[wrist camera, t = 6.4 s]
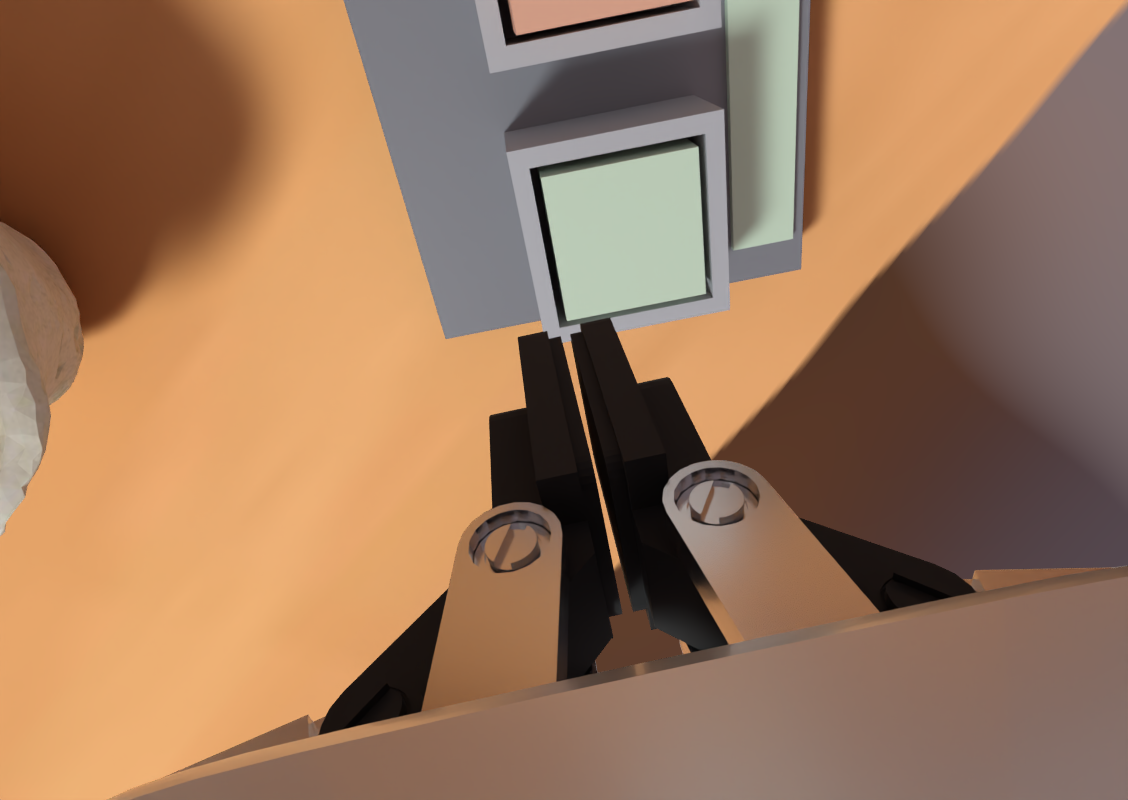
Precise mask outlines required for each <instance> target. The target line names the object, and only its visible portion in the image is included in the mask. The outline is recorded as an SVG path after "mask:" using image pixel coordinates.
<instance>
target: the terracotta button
mask: <svg viewBox="0 0 1128 800" xmlns="http://www.w3.org/2000/svg"><path fill="white" fill-rule="evenodd" d="M686 1H691V0H508V6H509V11H510V17H511V22H512V28H513V31H514V33H515V34H516V35H521V34H526V33H531V32H536V31H541V30H546V29H551V28H556V27H561V26H566V25H571V24H576V23H581V22H586V21H591V20H596V19H601V18H606V17H611V16H616V15H621V14H626V13H631V12H636V11H641V10H646V9H651V8H656V7H661V6H666V5H671V4H676V3H681V2H686Z"/></svg>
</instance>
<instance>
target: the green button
mask: <svg viewBox="0 0 1128 800" xmlns="http://www.w3.org/2000/svg"><path fill="white" fill-rule="evenodd" d="M537 171H538V176H539V181H540V187H541V192H542V198H543V203H544V209H545V214H546V219H547V225H548V230H549V236H550V241H551V247H552V252H553V257H554V263H555V268H556V274H557V279H558V285H559V290H560V294H561V298H562V302H563V306H564V311H565V315H566V319H567V321H570V320H575V319H580V318H585V317H591V316H596V315H601V314H606V313H611V312H616V311H621V310H626V309H631V308H636V307H641V306H646V305H652V304H657V303H662V302H667V301H672V300H677V299H682V298H687V297H692V296H697V295H702V294H706V285H705V265H704V246H703V226H702V207H701V187H700V168H699V148H698V146H697V145H695V144H694V143H693V142H691V141H690V140H688V139H687V138H681V139H676V140H671V141H666V142H661V143H656V144H651V145H646V146H641V147H636V148H631V149H625V150H620V151H615V152H610V153H605V154H600V155H595V156H590V157H585V158H580V159H575V160H570V161H565V162H560V163H555V164H550V165H545V166H540V167H537Z"/></svg>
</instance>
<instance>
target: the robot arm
mask: <svg viewBox="0 0 1128 800" xmlns="http://www.w3.org/2000/svg"><path fill="white" fill-rule="evenodd" d="M580 329H581V332H577V333H573V334H570V337H571V343H572V348H573V353H574V358H575V363H576V368H577V373H578V379H579V384H580V389H581V394H582V399H583V404H584V409H585V414H586V420H587V425H588V430H589V435H590V440H591V445H592V450H593V455H594V460H595V464H596V469H597V473H598V476H599V480H600V484H601V488H602V492H603V496H604V500H605V504H606V508H607V512H608V516H609V520H610V524H611V527H612V531H613V535H614V539H615V543H616V547H617V551H618V555H619V559H620V563H621V567H622V571H623V574H624V579H625V582H626V586H627V590H628V594H629V598H630V602H631V606H632V609H633V611H638V610H643V609H646V612H647V616H648V619H649V623H650V627H651V630H653V629H657V628H658V629H660V630H661V631H663V632H665V633H667V634H669V635H671V636H673V637H675V638H677V639H679V640H680V646H681V649H682V652H683V655H678V656H673V657H669V658H664V659H659V660H655V661H650V662H646V663H641V664H637V665H632V666H627V667H623V668H618V669H613V670H609V671H604V672H600V673H597V668H596V663H595V659H596V658H597V657H598V655H599V654H600V653H601V651H602V650H603V649H604V647H605V646H606V645H607V643H608V642H609V641H610V639H611V638H613V634H612V629H611V625H610V620H609V617H610V616H615V615H620V614H622V610H621V604H620V599H619V594H618V589H617V584H616V579H615V575H614V569H613V564H612V559H611V554H610V549H609V544H608V539H607V533H606V528H605V523H604V518H603V513H602V508H601V503H600V498H599V493H598V488H597V483H596V478H595V474H594V469H593V465H592V460H591V456H590V452H589V448H588V444H587V440H586V436H585V432H584V428H583V424H582V420H581V416H580V412H579V408H578V404H577V400H576V396H575V392H574V388H573V384H572V380H571V376H570V372H569V368H568V364H567V360H566V355H565V351H564V347H563V343H562V339H561V336H559V337H554V338H550V339H549V337H548V332H547V331H544V332H540V333H535V334H530V335H526V336H521V337H518V344H519V352H520V360H521V368H522V375H523V383H524V391H525V399H526V407H527V408H522V409H517V410H513V411H508V412H503V413H499V414H494V415H490V417H489V429H490V456H491V484H492V509H491V510H489V511H486V512H484V513H483V514H482V515H480V516H479V517H478V518H476V519H475V520H474V521H472V522H471V524H470V525H469V526H468V527H467V529H466V530H465V531H464V532H463V534H462V536H461V539H460V541H459V544H458V547H457V551H456V556H455V561H454V565H453V570H452V574H451V579H450V583H449V588H448V589H447V590H446V591H445V592H444V593H443V594H442V595H441V596H440V597H439V598H438V599H437V600H436V601H435V602H434V603H433V604H432V605H431V606H430V607H429V608H428V609H427V610H426V611H425V612H424V613H423V614H422V615H421V616H420V617H419V618H418V619H417V620H416V621H415V622H414V623H413V624H412V625H411V626H410V627H409V628H408V629H407V630H406V631H405V632H404V633H403V634H402V635H401V636H400V637H399V638H398V639H397V640H395V641H394V642H393V643H392V644H391V645H390V646H389V647H388V648H387V649H386V650H385V651H384V652H383V653H382V654H381V655H380V656H379V657H378V658H377V659H376V660H375V661H374V662H373V663H372V664H371V665H370V666H369V667H368V668H367V669H366V670H365V671H364V672H363V673H362V674H361V675H360V676H359V677H358V678H357V679H356V680H355V681H354V682H353V683H352V684H351V685H350V686H349V687H348V688H347V689H346V690H345V691H344V692H343V693H342V694H341V695H340V697H339V698H338V699H337V700H336V701H335V703H334V704H333V705H332V706H331V708H330V709H329V711H328V713H327V715H326V717H323V718H321V719H319V720H316V721H314V722H313V721H312V720H311V718H310V717H309V716H308V715H306V716H304V717H301V718H299V719H297V720H295V721H292V722H290V723H288V724H285V725H283V726H281V727H278V728H276V729H274V730H271V731H269V732H267V733H265V734H262V735H260V736H258V737H255V738H253V739H251V740H248V741H246V742H244V743H242V744H239V745H237V746H235V747H232V748H230V749H228V750H225V751H223V752H221V753H218V754H216V755H214V756H212V757H209V758H207V759H205V760H202V761H200V762H198V763H195V764H193V765H191V766H188V767H186V768H184V769H182V770H179V771H177V772H175V773H172V774H170V775H168V776H165V777H163V778H161V779H158V780H155V781H152V782H149V783H146V784H144V785H141V786H138V787H135V788H132V789H130V790H127V791H125V792H123V793H121V794H119V795H116V796H114V797H112V798H110V799H108V800H1128V566H1121V567H1115V568H1071V569H1070V568H1069V569H1021V570H1020V569H1018V570H975V572H974V575H973V579H961V578H960V577H959V576H957V575H956V574H955V573H952V572H950V571H948V570H946V569H944V568H942V567H939V566H937V565H935V564H932V563H930V562H927V561H924V560H921V559H918V558H915V557H912V556H909V555H906V554H903V553H900V552H898V551H895V550H892V549H889V548H886V547H883V546H880V545H877V544H874V543H871V542H868V541H866V540H862V539H860V538H857V537H854V536H851V535H848V534H845V533H842V532H839V531H836V530H833V529H830V528H828V527H825V526H822V525H819V524H816V523H813V522H810V521H807V520H804V519H801V518H799V517H797V515H796V514H795V513H794V512H793V511H792V510H791V509H790V507H789V506H788V505H787V504H786V503H785V502H784V501H783V499H782V498H781V497H780V496H779V495H778V493H777V492H776V491H775V490H774V489H773V488H772V487H771V485H770V484H769V483H768V482H767V481H766V480H765V479H764V478H763V477H762V476H761V475H760V474H759V473H757V472H756V471H755V470H753V469H751V468H749V467H747V466H745V465H742V464H739V463H735V462H730V461H725V460H723V461H719V460H718V461H717V460H715V461H711V459H710V457H709V455H708V453H707V451H706V449H705V447H704V445H703V443H702V441H701V439H700V437H699V435H698V433H697V431H696V429H695V427H694V425H693V423H692V421H691V419H690V417H689V415H688V413H687V411H686V409H685V407H684V405H683V403H682V401H681V399H680V397H679V395H678V393H677V391H676V389H675V387H674V385H673V383H672V381H671V380H670V378H668V377H666V378H661V379H656V380H652V381H647V382H643V383H638V384H637V382H636V379H635V377H634V374H633V372H632V369H631V367H630V365H629V362H628V360H627V357H626V355H625V352H624V350H623V348H622V345H621V343H620V340H619V338H618V335H617V333H616V331H615V328H614V326H613V323H612V321H611V319H610V317H609V318H605V319H600V320H595V321H591V322H586V323H581V324H580Z"/></svg>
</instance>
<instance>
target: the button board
mask: <svg viewBox="0 0 1128 800" xmlns="http://www.w3.org/2000/svg"><path fill="white" fill-rule="evenodd" d="M344 3H345V6H346V9H347V13H348V16H349V19H350V23H351V26H352V29H353V33H354V36H355V39H356V43H357V46H358V49H359V53H360V56H361V59H362V63H363V66H364V69H365V73H366V76H367V79H368V83H369V86H370V89H371V93H372V96H373V99H374V102H375V106H376V109H377V112H378V116H379V119H380V122H381V126H382V129H383V132H384V136H385V139H386V142H387V146H388V149H389V152H390V156H391V159H392V162H393V166H394V169H395V172H396V176H397V179H398V182H399V186H400V189H401V192H402V195H403V199H404V202H405V205H406V209H407V212H408V215H409V219H410V222H411V225H412V229H413V232H414V235H415V239H416V242H417V245H418V249H419V252H420V255H421V259H422V262H423V265H424V269H425V272H426V275H427V278H428V282H429V285H430V288H431V292H432V295H433V298H434V302H435V305H436V308H437V312H438V315H439V318H440V322H441V325H442V328H443V332H444V335H445V338H446V339H449V338H454V337H459V336H464V335H469V334H474V333H479V332H484V331H489V330H494V329H499V328H504V327H509V326H515V325H520V324H525V323H530V322H535V321H540V320H541V323H542V328H543V332H544V331H547V332H548V337H549V339H550V338H554V337H559V336H561V339H562V343H563V342H568V341H571V337H570V334H573V333H577V332H581V329H580V324H581V323H586V322H591V321H595V320H600V319H605V318H609V317H610V319H611V321H612V323H613V326H614V328H615V331H616V332H619V331H624V330H629V329H634V328H640V327H645V326H650V325H655V324H660V323H665V322H670V321H675V320H680V319H685V318H690V317H696V316H701V315H706V314H711V313H716V312H721V311H726V310H730V292H729V283H733V282H738V281H743V280H748V279H753V278H759V277H764V276H769V275H774V274H779V273H784V272H789V271H794V270H799V269H801V256H802V228H803V199H804V170H805V141H806V113H807V84H808V55H809V27H810V0H691V1H686V2H681V3H676V4H671V5H666V6H661V7H656V8H651V9H646V10H641V11H636V12H631V13H626V14H621V15H616V16H611V17H606V18H601V19H596V20H591V21H586V22H581V23H576V24H571V25H566V26H561V27H556V28H551V29H546V30H541V31H536V32H531V33H526V34H521V35H516V34H515V33H514V31H513V28H512V22H511V17H510V11H509V6H508V0H344ZM681 138H687V139H688V140H690V141H691V142H693V143H694V144H695V145H697V146H698V148H699V168H700V187H701V207H702V226H703V246H704V265H705V285H706V294H702V295H697V296H692V297H687V298H682V299H677V300H672V301H667V302H662V303H657V304H652V305H646V306H641V307H636V308H631V309H626V310H621V311H616V312H611V313H606V314H601V315H596V316H591V317H585V318H580V319H575V320H570V321H567V319H566V315H565V311H564V306H563V302H562V298H561V294H560V290H559V285H558V279H557V274H556V268H555V263H554V257H553V252H552V247H551V241H550V236H549V230H548V225H547V219H546V214H545V209H544V203H543V198H542V192H541V187H540V181H539V176H538V171H537V167H540V166H545V165H550V164H555V163H560V162H565V161H570V160H575V159H580V158H585V157H590V156H595V155H600V154H605V153H610V152H615V151H620V150H625V149H631V148H636V147H641V146H646V145H651V144H656V143H661V142H666V141H671V140H676V139H681Z"/></svg>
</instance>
